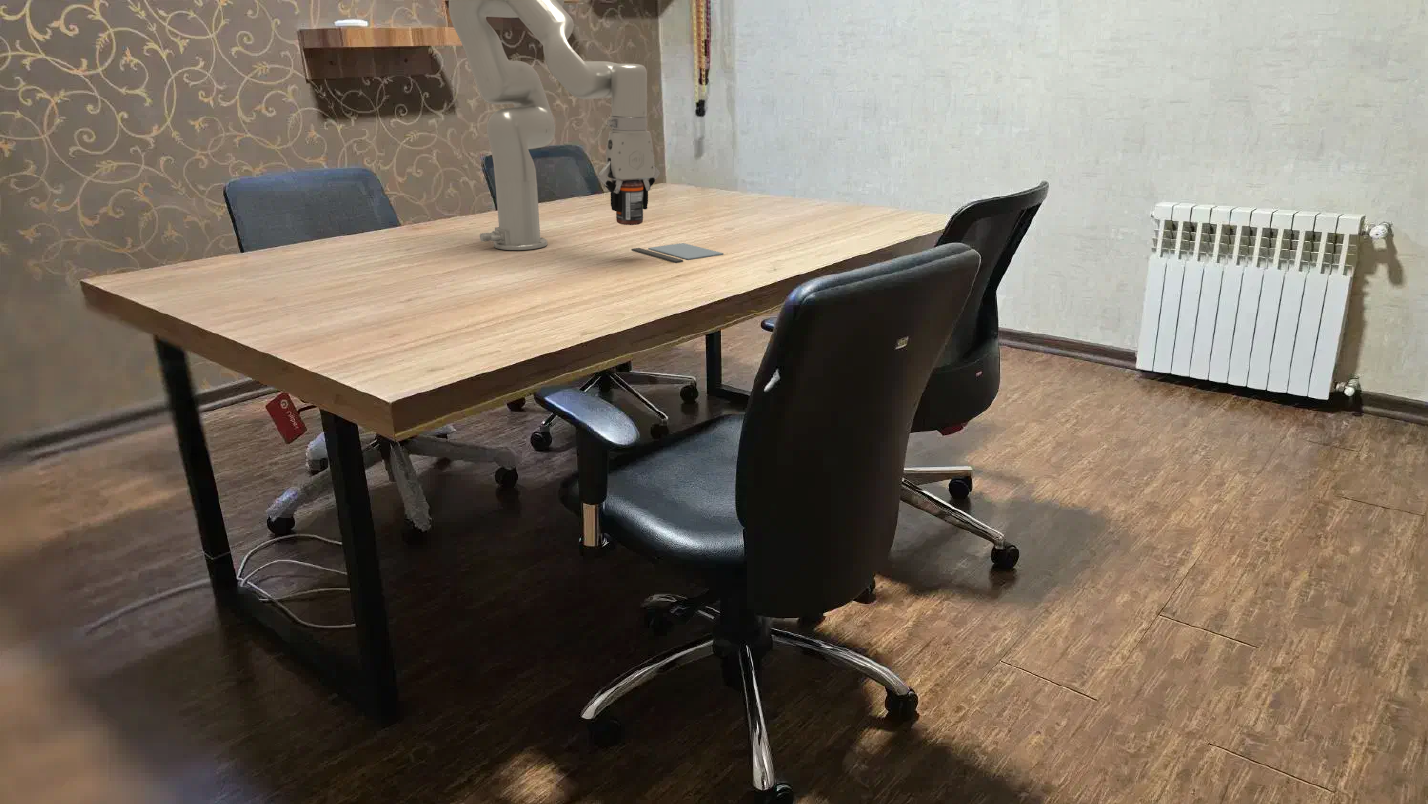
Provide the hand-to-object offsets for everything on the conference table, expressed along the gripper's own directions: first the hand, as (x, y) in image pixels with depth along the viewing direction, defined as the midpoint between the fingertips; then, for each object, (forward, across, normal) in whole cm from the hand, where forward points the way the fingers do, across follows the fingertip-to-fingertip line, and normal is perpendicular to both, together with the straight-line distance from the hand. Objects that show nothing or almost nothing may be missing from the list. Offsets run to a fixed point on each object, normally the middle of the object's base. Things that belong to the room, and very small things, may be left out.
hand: (629, 209), depth 213 cm
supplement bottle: (+3, 0, 0) cm, 3 cm away
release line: (+11, +6, -1) cm, 13 cm away
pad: (+11, +14, -1) cm, 18 cm away
